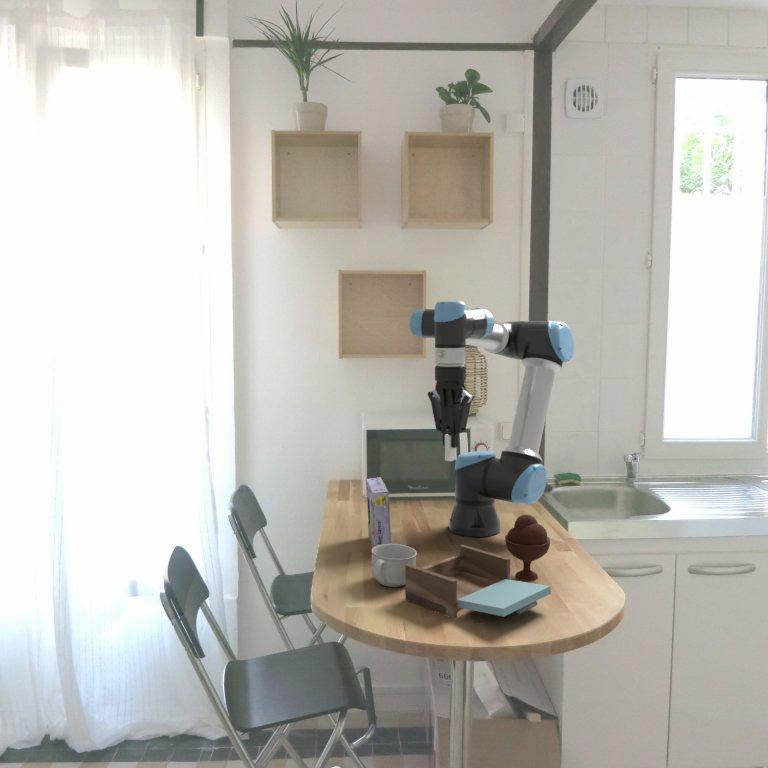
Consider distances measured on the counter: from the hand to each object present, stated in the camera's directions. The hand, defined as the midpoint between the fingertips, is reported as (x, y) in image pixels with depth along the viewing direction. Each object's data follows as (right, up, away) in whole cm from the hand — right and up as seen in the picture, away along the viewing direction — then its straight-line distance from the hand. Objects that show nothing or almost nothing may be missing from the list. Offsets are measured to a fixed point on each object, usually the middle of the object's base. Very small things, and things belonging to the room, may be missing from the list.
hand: (450, 459), depth 177 cm
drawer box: (0, -29, -14) cm, 32 cm away
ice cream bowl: (+18, -28, -3) cm, 34 cm away
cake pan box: (-18, -26, +21) cm, 38 cm away
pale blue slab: (+5, -28, -20) cm, 35 cm away
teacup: (-15, -29, -7) cm, 33 cm away
